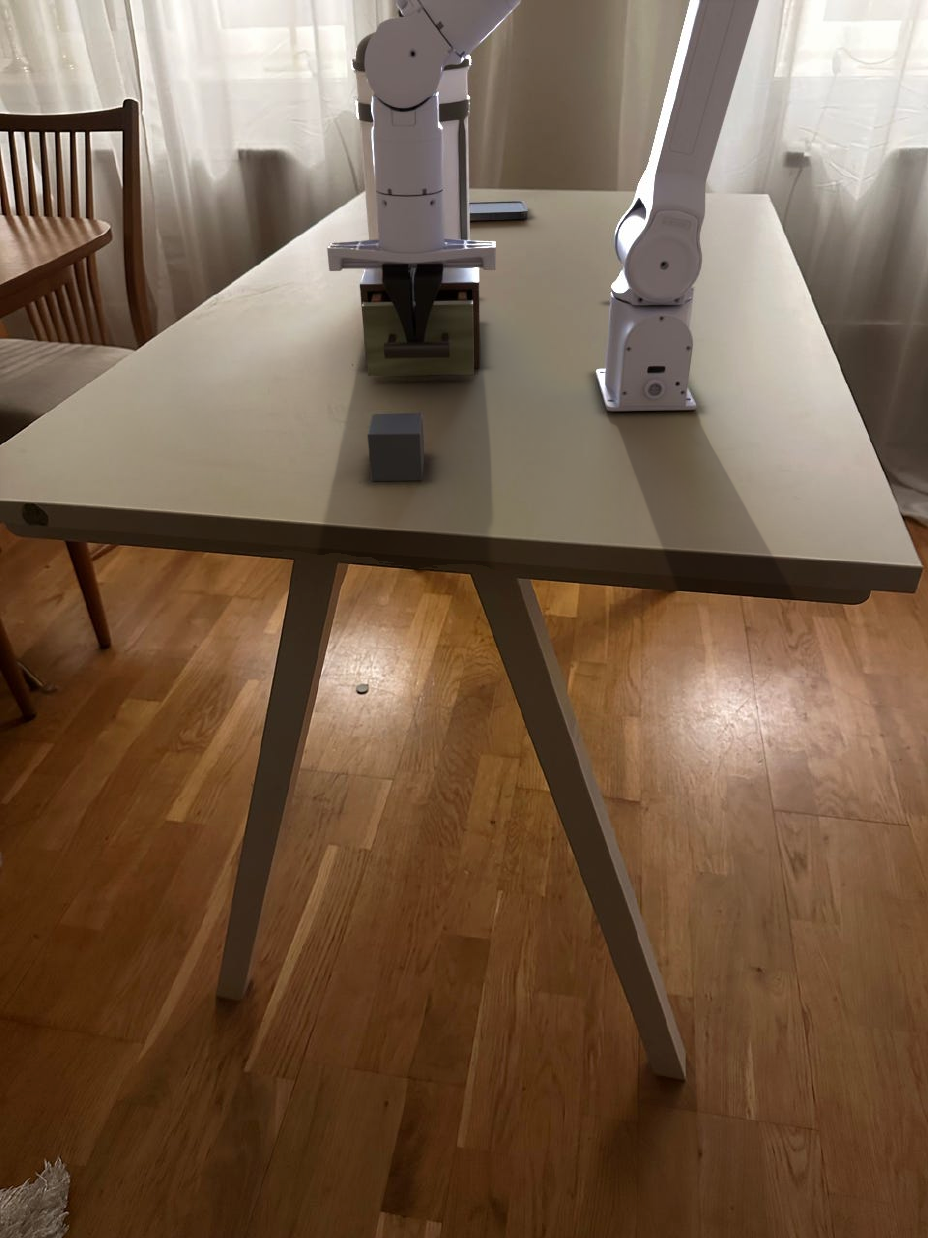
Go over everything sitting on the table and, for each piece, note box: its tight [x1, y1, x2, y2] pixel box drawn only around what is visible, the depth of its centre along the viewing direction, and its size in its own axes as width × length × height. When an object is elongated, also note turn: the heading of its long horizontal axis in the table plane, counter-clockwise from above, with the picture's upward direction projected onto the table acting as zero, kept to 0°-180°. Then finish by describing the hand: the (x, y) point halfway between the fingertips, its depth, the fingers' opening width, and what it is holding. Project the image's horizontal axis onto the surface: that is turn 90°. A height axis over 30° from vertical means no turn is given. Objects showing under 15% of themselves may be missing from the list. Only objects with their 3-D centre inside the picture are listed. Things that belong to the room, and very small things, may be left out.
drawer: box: [361, 290, 475, 377], centre depth 89 cm, size 17×10×7 cm, turn 0°
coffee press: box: [350, 8, 472, 240], centre depth 104 cm, size 17×16×30 cm
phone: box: [469, 200, 529, 221], centre depth 145 cm, size 8×1×15 cm
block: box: [367, 412, 425, 482], centre depth 72 cm, size 4×4×4 cm
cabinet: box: [359, 268, 481, 371], centre depth 94 cm, size 13×11×8 cm
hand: (416, 348), depth 84 cm, fingers closed, pressing on drawer
